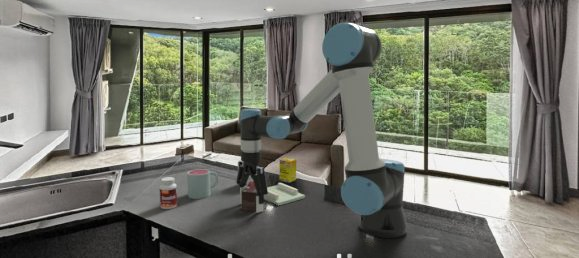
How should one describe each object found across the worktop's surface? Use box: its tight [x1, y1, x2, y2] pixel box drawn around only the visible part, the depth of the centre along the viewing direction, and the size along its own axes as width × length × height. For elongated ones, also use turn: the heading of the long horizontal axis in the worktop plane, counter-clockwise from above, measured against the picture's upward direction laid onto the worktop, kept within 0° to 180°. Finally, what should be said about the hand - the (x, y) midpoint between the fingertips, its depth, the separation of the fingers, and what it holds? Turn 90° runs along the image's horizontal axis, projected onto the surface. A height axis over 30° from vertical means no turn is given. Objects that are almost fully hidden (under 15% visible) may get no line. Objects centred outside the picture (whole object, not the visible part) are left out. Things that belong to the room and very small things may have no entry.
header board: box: [264, 182, 306, 207], centre depth 139 cm, size 18×14×3 cm
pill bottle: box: [159, 176, 178, 210], centre depth 126 cm, size 6×6×11 cm
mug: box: [186, 168, 219, 200], centre depth 140 cm, size 14×9×10 cm
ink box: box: [237, 159, 257, 187], centre depth 152 cm, size 9×5×12 cm, turn 81°
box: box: [241, 187, 257, 212], centre depth 125 cm, size 6×6×7 cm
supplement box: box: [279, 157, 297, 185], centre depth 158 cm, size 6×6×11 cm
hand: (251, 207), depth 126 cm, fingers open, 10 cm apart
